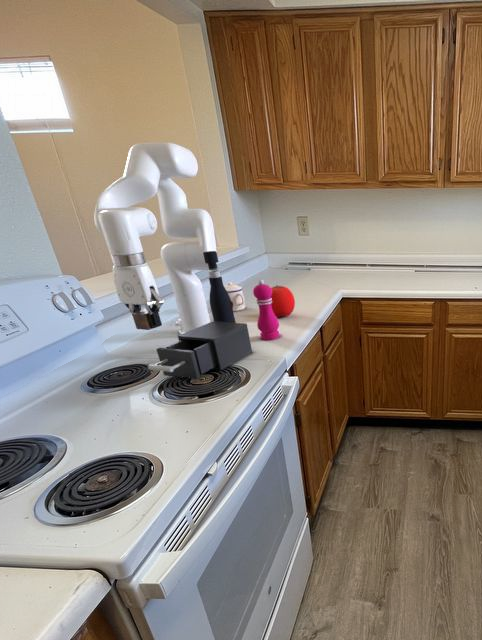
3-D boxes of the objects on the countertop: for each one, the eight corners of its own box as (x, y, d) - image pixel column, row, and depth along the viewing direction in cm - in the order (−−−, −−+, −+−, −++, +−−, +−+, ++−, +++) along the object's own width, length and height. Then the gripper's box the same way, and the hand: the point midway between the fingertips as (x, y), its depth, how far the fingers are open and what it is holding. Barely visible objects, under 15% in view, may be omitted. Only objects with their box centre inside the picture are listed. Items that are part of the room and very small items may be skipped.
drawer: (181, 388, 107) (173, 360, 103) (146, 384, 110) (138, 356, 107) (230, 360, 123) (225, 335, 120) (199, 357, 126) (193, 333, 123)
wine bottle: (220, 348, 136) (198, 254, 124) (218, 342, 142) (197, 251, 129) (240, 344, 139) (221, 252, 127) (238, 339, 144) (219, 249, 132)
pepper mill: (274, 340, 141) (265, 282, 133) (255, 340, 143) (244, 281, 135) (284, 334, 148) (275, 277, 140) (266, 333, 149) (256, 277, 141)
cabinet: (221, 370, 119) (213, 338, 115) (185, 366, 122) (177, 335, 119) (252, 352, 132) (246, 323, 128) (219, 349, 135) (213, 321, 131)
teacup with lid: (219, 310, 181) (213, 283, 176) (237, 305, 188) (232, 279, 183) (237, 313, 175) (231, 286, 171) (254, 308, 182) (249, 281, 177)
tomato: (295, 311, 176) (291, 281, 171) (297, 318, 166) (293, 286, 161) (265, 314, 173) (259, 284, 167) (265, 322, 162) (260, 290, 157)
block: (136, 328, 116) (131, 313, 114) (149, 323, 120) (145, 308, 118) (149, 330, 115) (144, 314, 113) (162, 325, 119) (157, 309, 117)
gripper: (92, 262, 109) (114, 328, 116) (142, 264, 104) (162, 333, 112) (117, 257, 115) (137, 320, 123) (165, 258, 110) (183, 324, 118)
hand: (149, 325), depth 117 cm, fingers closed on block, 4 cm apart
